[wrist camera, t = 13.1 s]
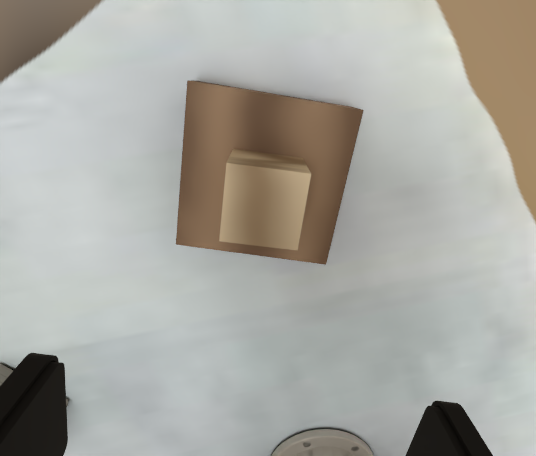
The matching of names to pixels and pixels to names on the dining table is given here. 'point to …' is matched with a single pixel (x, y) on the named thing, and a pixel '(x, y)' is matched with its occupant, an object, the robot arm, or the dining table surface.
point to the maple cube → (264, 199)
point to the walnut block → (265, 141)
